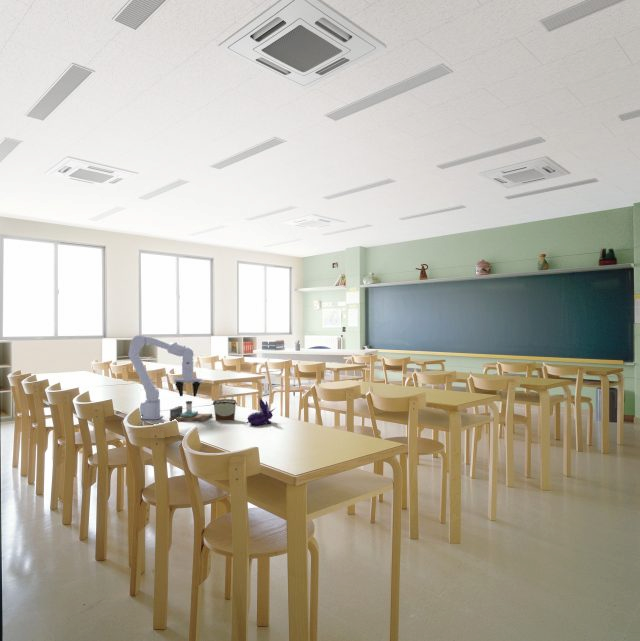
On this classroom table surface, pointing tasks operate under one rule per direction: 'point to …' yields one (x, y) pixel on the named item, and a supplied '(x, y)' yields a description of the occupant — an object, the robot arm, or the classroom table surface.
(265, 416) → the creature
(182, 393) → the robot arm
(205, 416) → the bench base
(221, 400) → the food container
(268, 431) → the classroom table surface
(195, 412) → the teal plate with post
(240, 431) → the classroom table surface
